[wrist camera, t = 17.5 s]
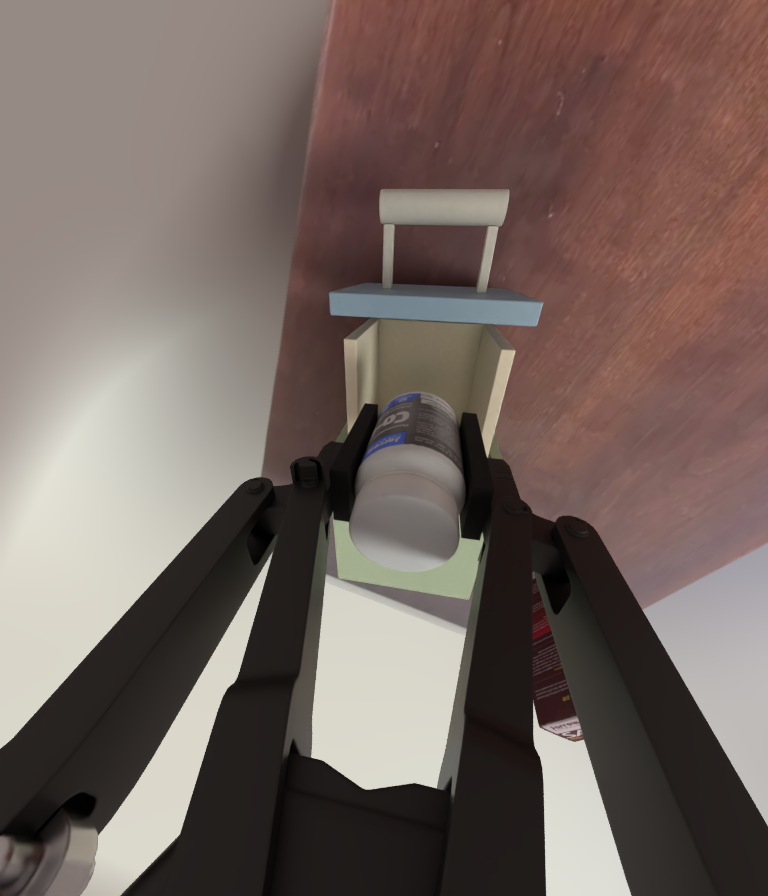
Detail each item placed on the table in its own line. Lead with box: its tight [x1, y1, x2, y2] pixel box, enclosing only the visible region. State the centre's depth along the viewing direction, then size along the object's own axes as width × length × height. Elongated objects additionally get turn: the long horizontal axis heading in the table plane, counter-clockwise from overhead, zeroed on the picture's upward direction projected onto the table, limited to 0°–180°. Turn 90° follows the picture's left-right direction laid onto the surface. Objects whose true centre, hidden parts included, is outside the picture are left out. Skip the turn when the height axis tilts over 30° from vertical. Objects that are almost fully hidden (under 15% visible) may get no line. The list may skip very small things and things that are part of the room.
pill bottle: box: [349, 391, 466, 572], centre depth 14 cm, size 5×5×8 cm
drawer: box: [329, 189, 543, 458], centre depth 22 cm, size 18×11×9 cm, turn 178°
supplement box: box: [532, 571, 584, 741], centre depth 33 cm, size 9×5×16 cm, turn 151°
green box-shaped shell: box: [332, 422, 503, 600], centre depth 29 cm, size 15×13×11 cm
